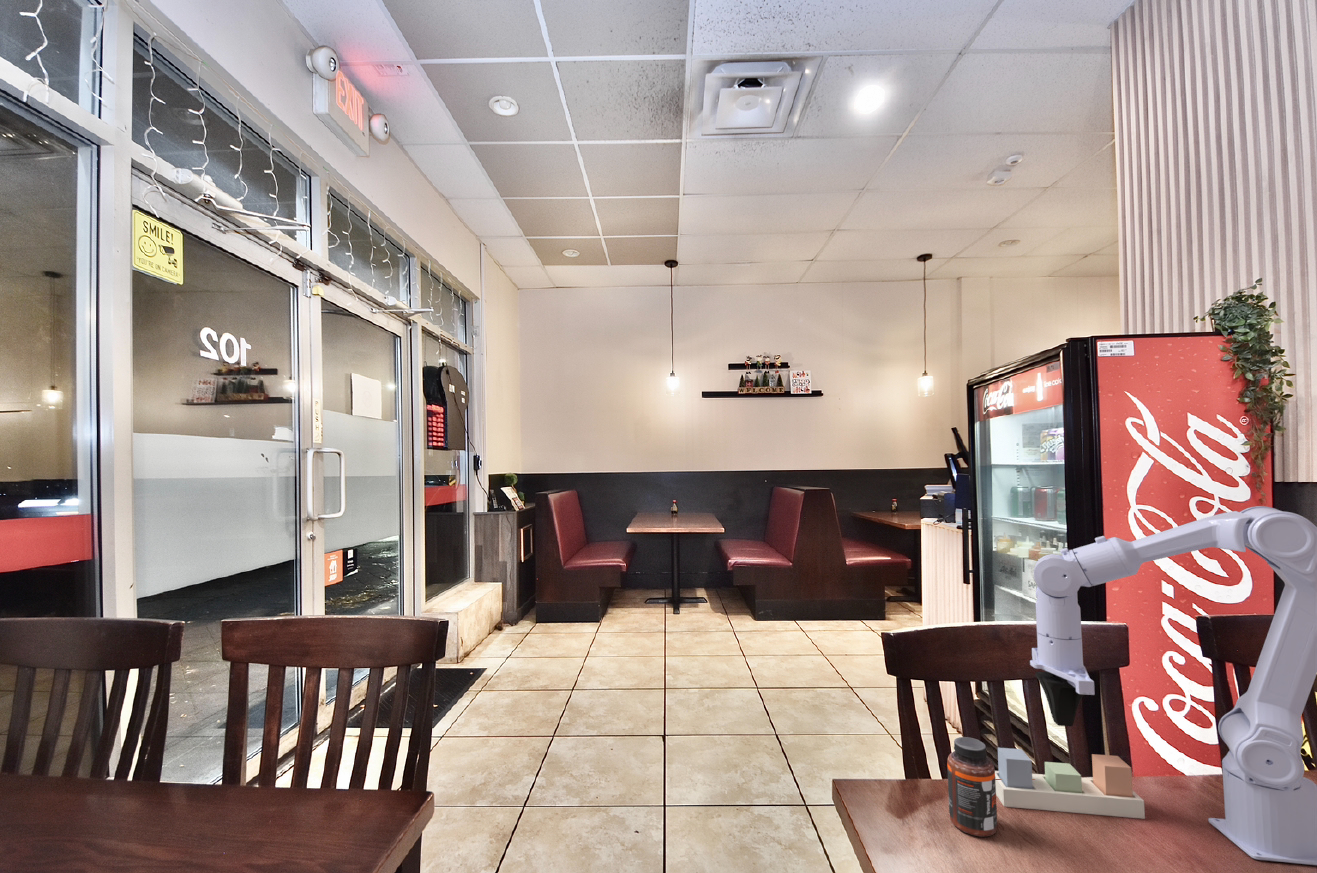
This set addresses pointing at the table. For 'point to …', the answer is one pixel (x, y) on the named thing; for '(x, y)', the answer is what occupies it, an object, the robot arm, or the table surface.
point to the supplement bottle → (972, 788)
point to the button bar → (1069, 799)
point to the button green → (1063, 777)
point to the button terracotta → (1112, 775)
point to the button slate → (1015, 768)
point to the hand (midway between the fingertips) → (1063, 724)
